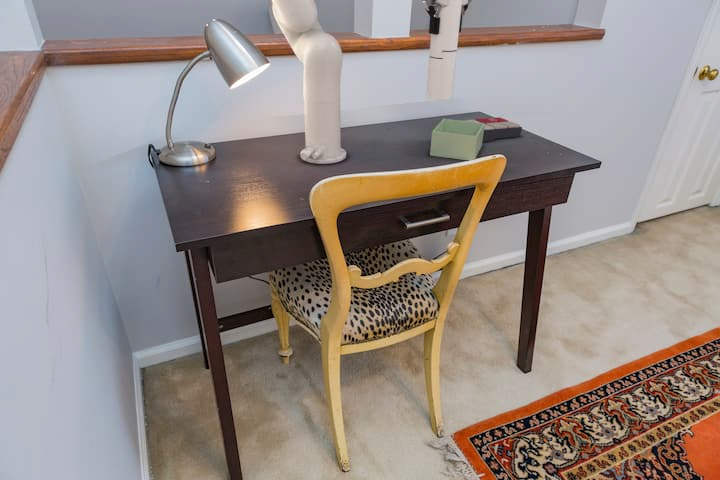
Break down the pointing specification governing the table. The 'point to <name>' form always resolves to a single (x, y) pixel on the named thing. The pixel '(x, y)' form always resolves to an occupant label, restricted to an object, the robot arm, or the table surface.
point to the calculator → (498, 128)
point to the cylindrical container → (444, 53)
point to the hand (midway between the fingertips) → (445, 32)
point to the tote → (457, 139)
